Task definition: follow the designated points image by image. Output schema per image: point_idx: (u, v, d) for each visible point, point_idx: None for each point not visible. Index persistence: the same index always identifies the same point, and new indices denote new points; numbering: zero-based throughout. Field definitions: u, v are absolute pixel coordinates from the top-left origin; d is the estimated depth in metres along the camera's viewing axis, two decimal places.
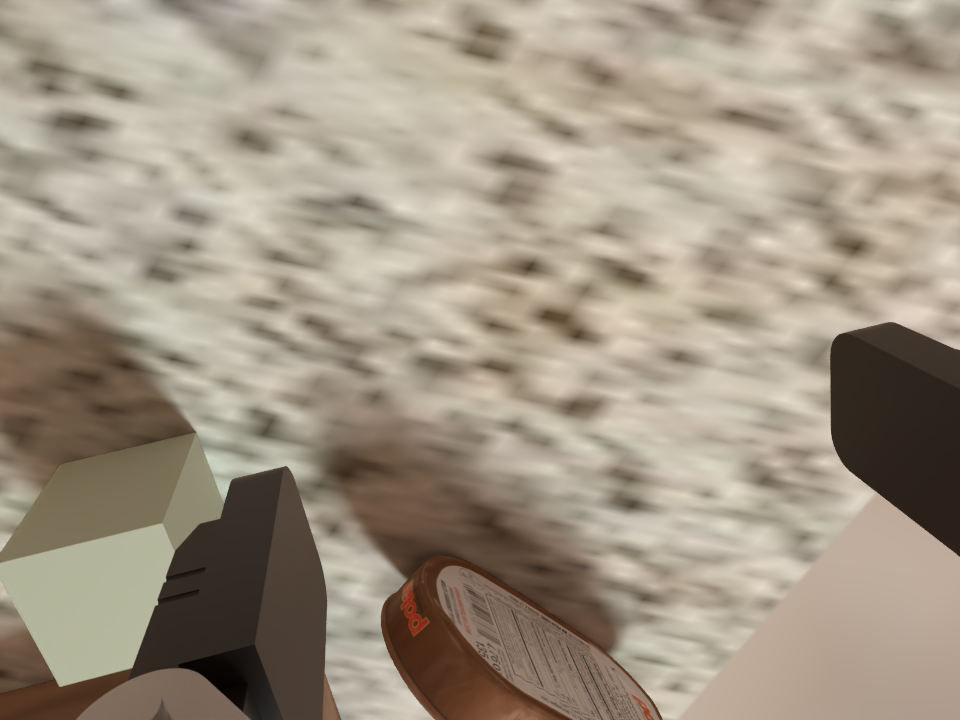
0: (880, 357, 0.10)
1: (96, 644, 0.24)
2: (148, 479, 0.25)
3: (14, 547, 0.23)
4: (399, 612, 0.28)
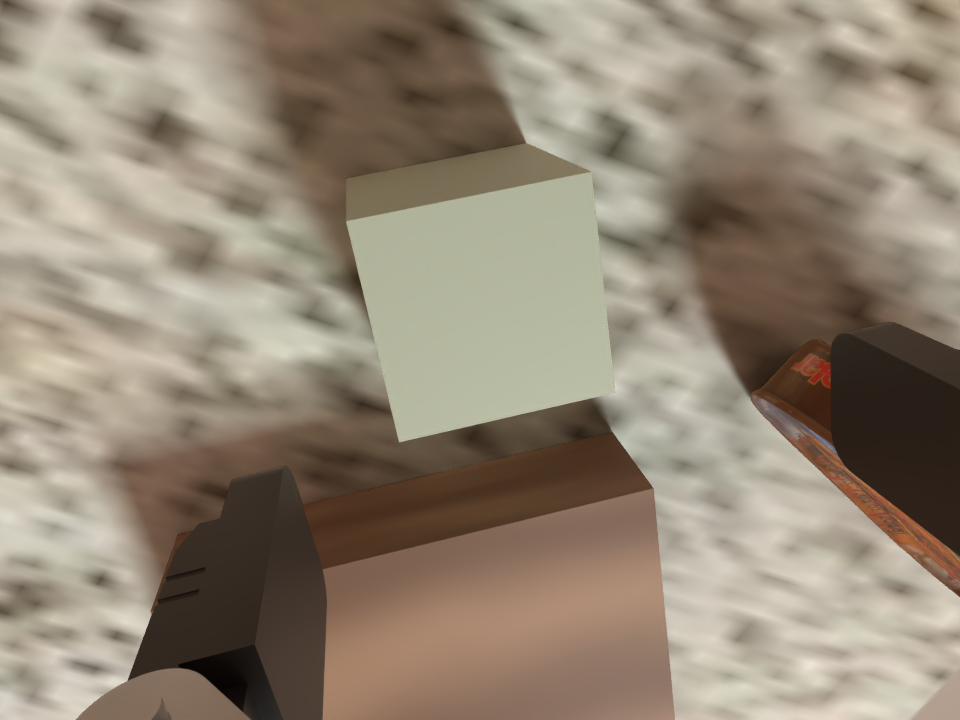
0: (880, 357, 0.10)
1: (461, 374, 0.16)
2: (506, 163, 0.18)
3: (363, 211, 0.15)
4: (810, 388, 0.20)
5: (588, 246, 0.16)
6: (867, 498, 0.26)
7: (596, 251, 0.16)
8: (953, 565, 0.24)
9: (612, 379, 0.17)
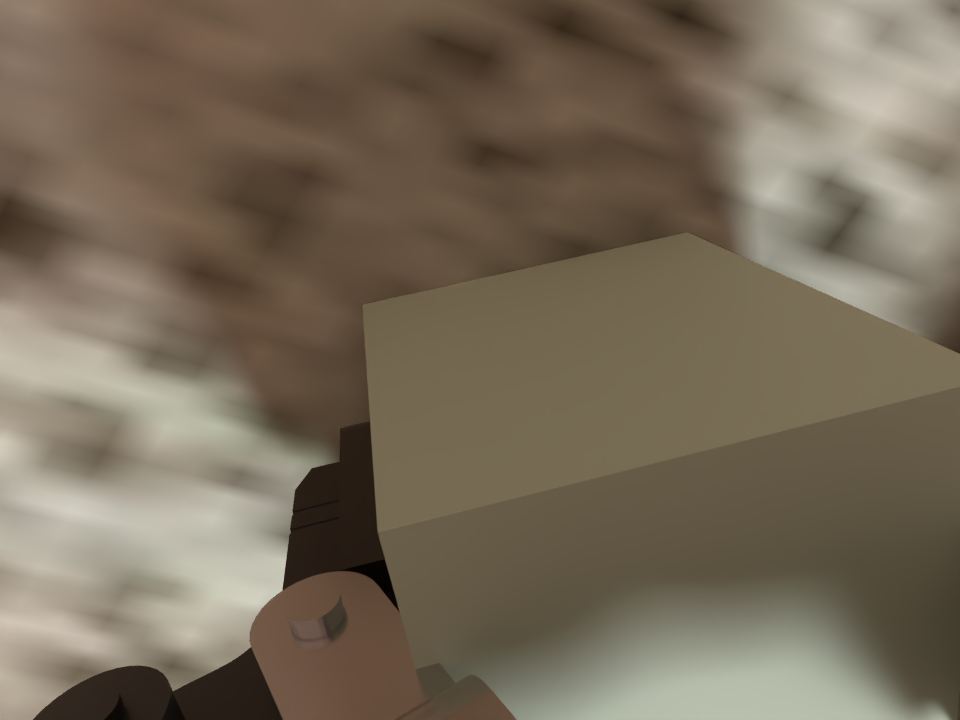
0: None
1: None
2: (697, 299, 0.09)
3: (418, 472, 0.06)
4: None
5: None
6: None
7: None
8: None
9: None
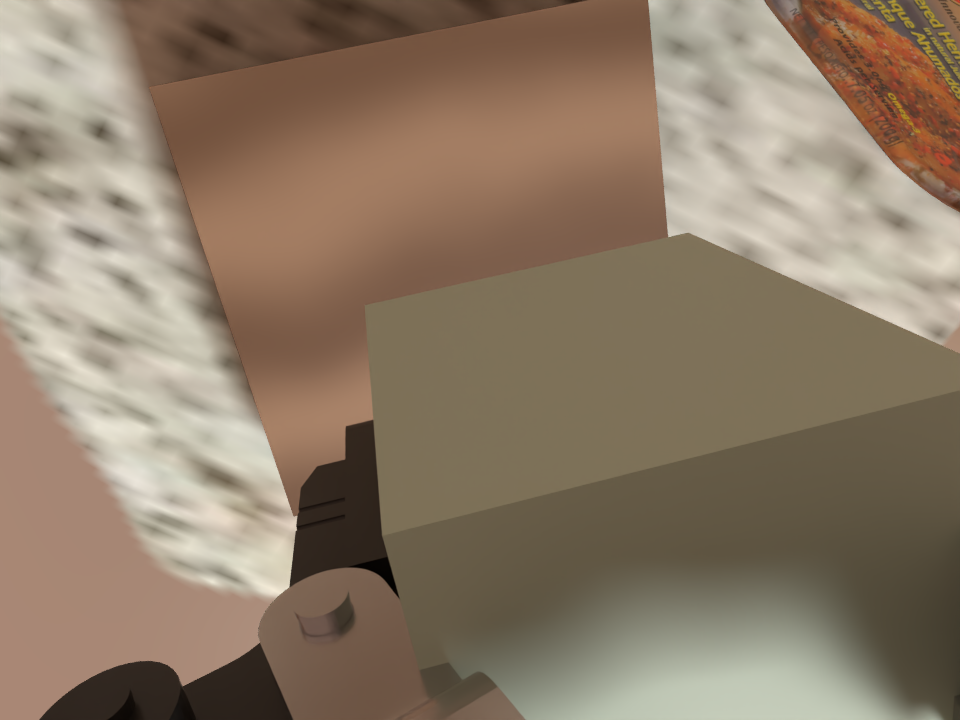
0: None
1: None
2: (700, 301, 0.09)
3: (423, 475, 0.06)
4: None
5: None
6: (863, 95, 0.27)
7: None
8: (948, 123, 0.24)
9: None
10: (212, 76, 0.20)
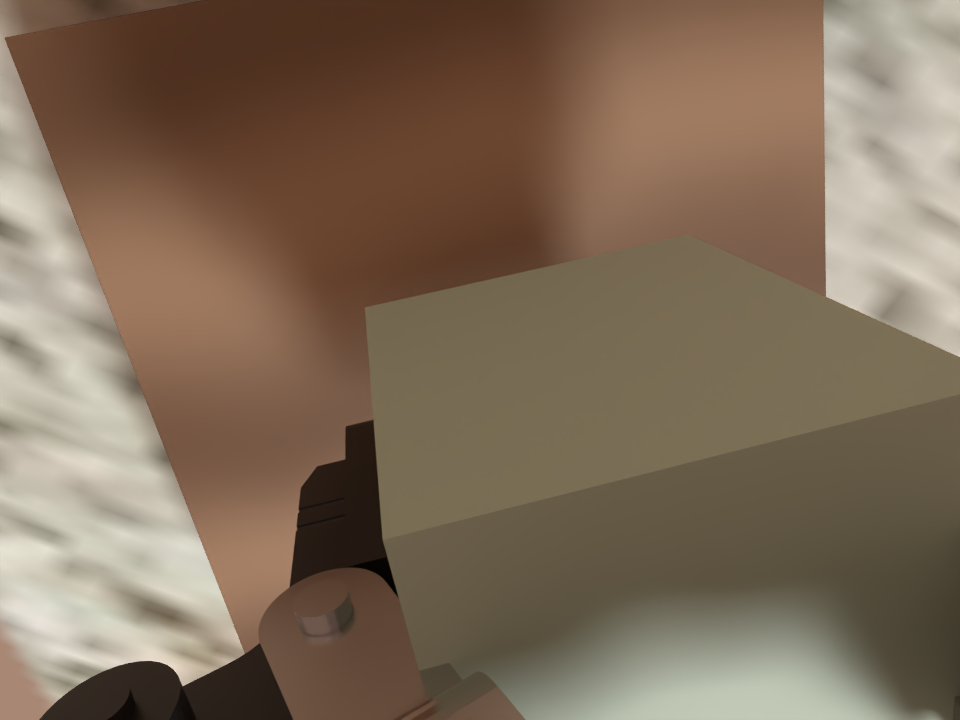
0: None
1: None
2: (701, 304, 0.09)
3: (423, 479, 0.06)
4: None
5: None
6: None
7: None
8: None
9: None
10: (112, 20, 0.12)
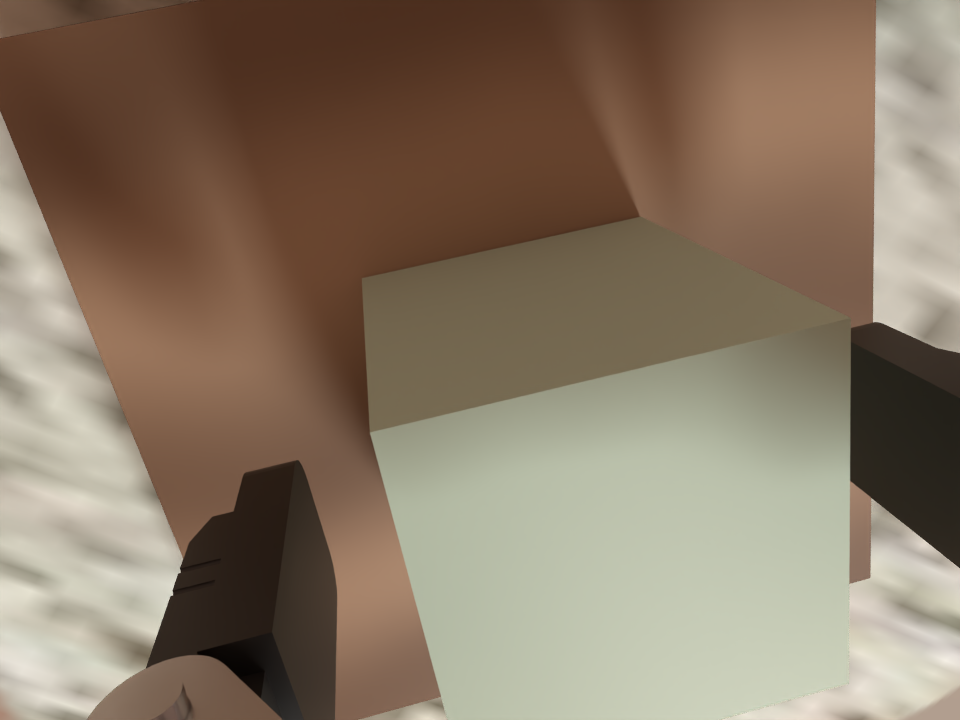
0: (865, 357, 0.10)
1: (582, 678, 0.09)
2: (636, 270, 0.10)
3: (401, 394, 0.08)
4: None
5: (830, 450, 0.08)
6: None
7: (844, 459, 0.08)
8: None
9: (846, 664, 0.09)
10: (93, 24, 0.11)
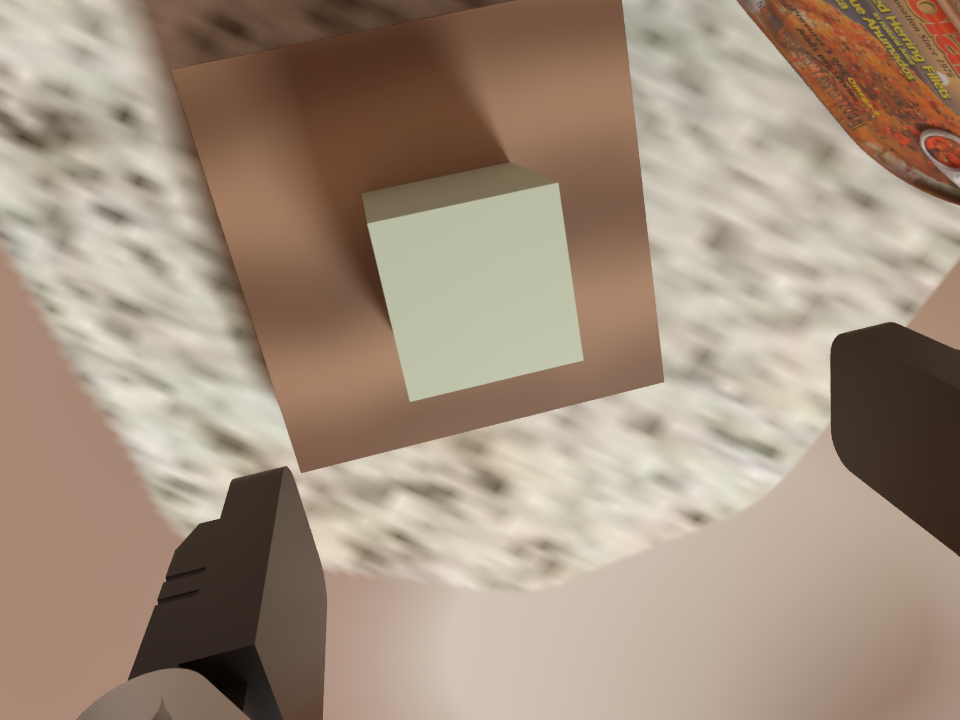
0: (880, 357, 0.10)
1: (458, 346, 0.20)
2: (492, 178, 0.22)
3: (380, 216, 0.20)
4: None
5: (557, 241, 0.20)
6: (826, 81, 0.29)
7: (564, 245, 0.20)
8: (903, 103, 0.26)
9: (581, 349, 0.21)
10: (228, 59, 0.22)
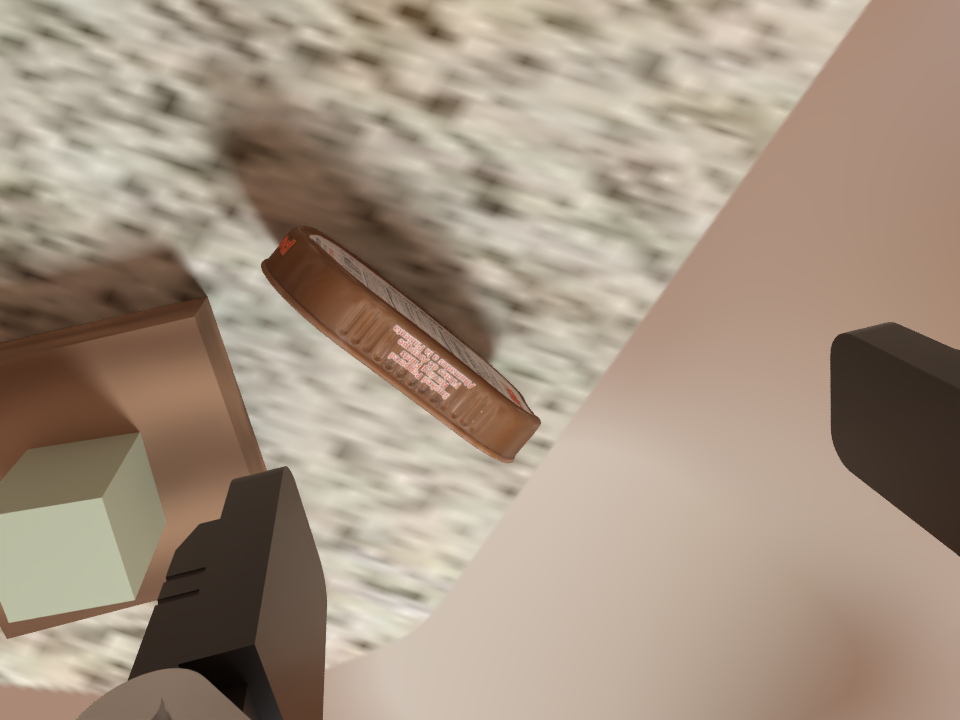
0: (880, 357, 0.10)
1: (41, 590, 0.31)
2: (95, 465, 0.32)
3: None
4: (276, 249, 0.33)
5: (106, 530, 0.30)
6: None
7: (110, 533, 0.30)
8: None
9: (132, 593, 0.31)
10: None
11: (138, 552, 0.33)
